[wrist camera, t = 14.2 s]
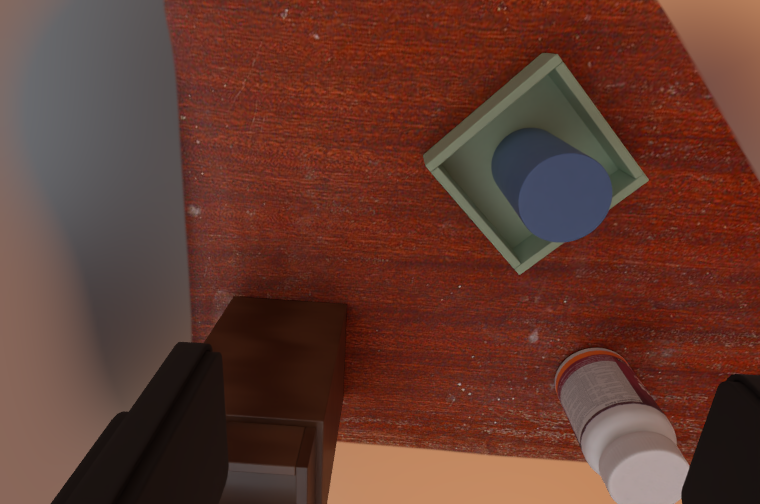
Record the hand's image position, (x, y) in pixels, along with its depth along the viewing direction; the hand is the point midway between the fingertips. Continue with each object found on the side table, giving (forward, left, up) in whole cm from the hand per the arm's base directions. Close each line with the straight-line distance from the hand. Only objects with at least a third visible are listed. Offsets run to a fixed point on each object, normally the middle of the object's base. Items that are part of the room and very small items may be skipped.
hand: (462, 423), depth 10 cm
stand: (+6, -18, -29) cm, 35 cm away
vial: (+6, +5, -29) cm, 30 cm away
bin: (+6, +5, -29) cm, 30 cm away
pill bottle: (+24, -1, -29) cm, 38 cm away
